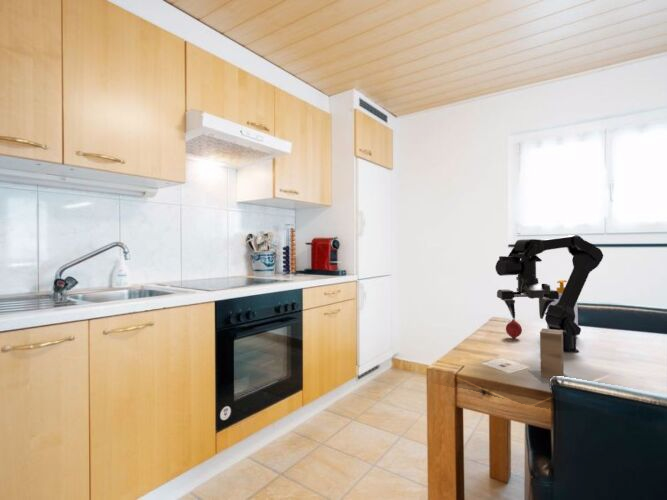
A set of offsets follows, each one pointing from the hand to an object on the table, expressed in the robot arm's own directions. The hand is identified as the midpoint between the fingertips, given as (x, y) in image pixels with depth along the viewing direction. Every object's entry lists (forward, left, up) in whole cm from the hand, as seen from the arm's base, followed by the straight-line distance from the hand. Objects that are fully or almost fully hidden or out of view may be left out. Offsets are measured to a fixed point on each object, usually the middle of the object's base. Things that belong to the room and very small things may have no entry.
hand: (527, 318), depth 121 cm
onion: (-2, -18, -12) cm, 22 cm away
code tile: (+13, +15, -12) cm, 23 cm away
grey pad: (+3, +24, -12) cm, 27 cm away
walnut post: (+3, +24, -12) cm, 27 cm away
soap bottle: (-23, -23, -12) cm, 35 cm away
